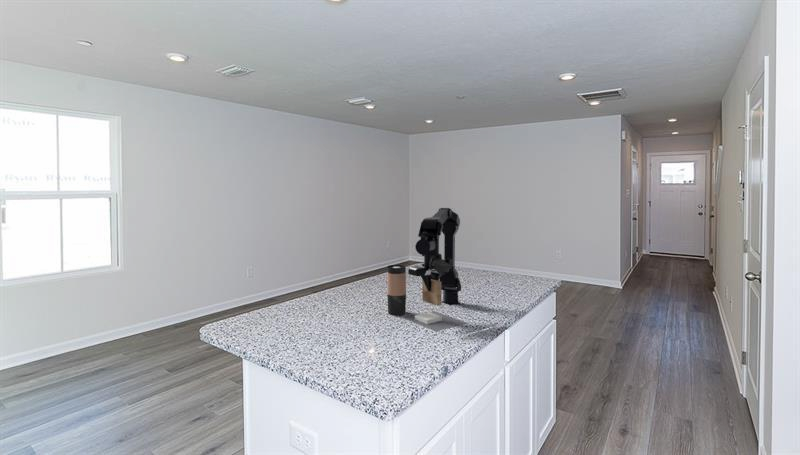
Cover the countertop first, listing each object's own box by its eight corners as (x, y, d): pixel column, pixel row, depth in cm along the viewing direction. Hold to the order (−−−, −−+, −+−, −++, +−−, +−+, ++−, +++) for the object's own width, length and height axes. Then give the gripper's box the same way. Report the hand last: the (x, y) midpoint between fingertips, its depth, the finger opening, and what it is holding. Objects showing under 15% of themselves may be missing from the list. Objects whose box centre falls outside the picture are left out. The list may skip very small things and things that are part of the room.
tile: (429, 315, 171) (414, 319, 166) (429, 312, 171) (414, 315, 166) (441, 320, 165) (427, 324, 160) (441, 316, 165) (427, 320, 160)
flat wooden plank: (422, 300, 169) (422, 278, 168) (426, 300, 170) (426, 277, 169) (437, 305, 162) (437, 282, 161) (441, 304, 163) (441, 281, 162)
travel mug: (409, 312, 177) (408, 265, 175) (401, 317, 170) (401, 268, 168) (392, 310, 180) (392, 264, 178) (384, 315, 173) (383, 267, 172)
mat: (403, 319, 168) (402, 318, 168) (433, 312, 178) (433, 311, 178) (436, 332, 152) (436, 331, 152) (467, 324, 162) (468, 323, 162)
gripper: (426, 256, 152) (426, 298, 154) (463, 251, 163) (463, 291, 164) (407, 252, 161) (407, 292, 163) (444, 248, 172) (444, 286, 173)
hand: (431, 290), depth 165 cm, fingers closed on flat wooden plank, 2 cm apart
